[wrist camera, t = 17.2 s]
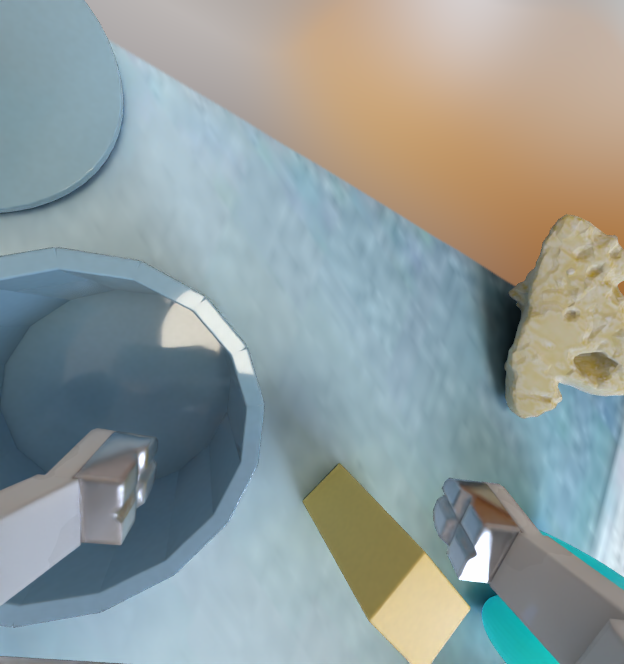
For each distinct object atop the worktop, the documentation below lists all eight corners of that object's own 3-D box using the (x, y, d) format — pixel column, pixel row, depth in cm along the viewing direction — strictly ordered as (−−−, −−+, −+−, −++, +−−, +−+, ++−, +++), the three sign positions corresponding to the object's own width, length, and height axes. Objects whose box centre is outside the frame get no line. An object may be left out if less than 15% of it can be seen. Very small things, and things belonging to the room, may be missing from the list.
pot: (113, 540, 19) (49, 697, 11) (-80, 380, 16) (-360, 441, 8) (278, 393, 23) (320, 434, 15) (146, 236, 19) (107, 177, 11)
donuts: (550, 529, 33) (686, 611, 24) (521, 622, 32) (651, 746, 23) (488, 510, 30) (618, 595, 21) (454, 612, 29) (574, 752, 20)
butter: (338, 540, 25) (422, 677, 15) (301, 500, 23) (368, 621, 14) (372, 502, 26) (471, 608, 16) (339, 462, 24) (425, 551, 15)
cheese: (534, 403, 35) (685, 306, 27) (558, 450, 28) (764, 341, 21) (426, 321, 35) (544, 202, 27) (426, 350, 29) (580, 205, 21)
